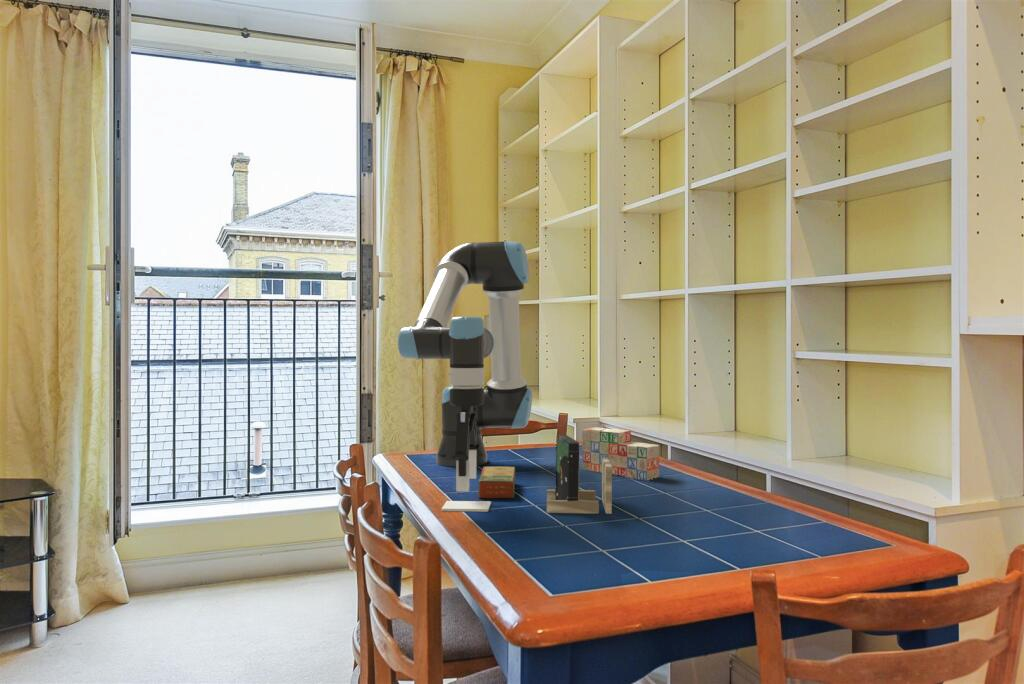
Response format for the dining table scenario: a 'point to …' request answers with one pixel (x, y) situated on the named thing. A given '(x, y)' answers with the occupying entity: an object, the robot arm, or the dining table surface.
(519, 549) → the dining table surface
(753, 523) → the dining table surface
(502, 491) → the carton
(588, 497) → the wooden holder
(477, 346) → the robot arm
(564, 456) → the disk drive
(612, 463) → the stack of blocks
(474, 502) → the pad
